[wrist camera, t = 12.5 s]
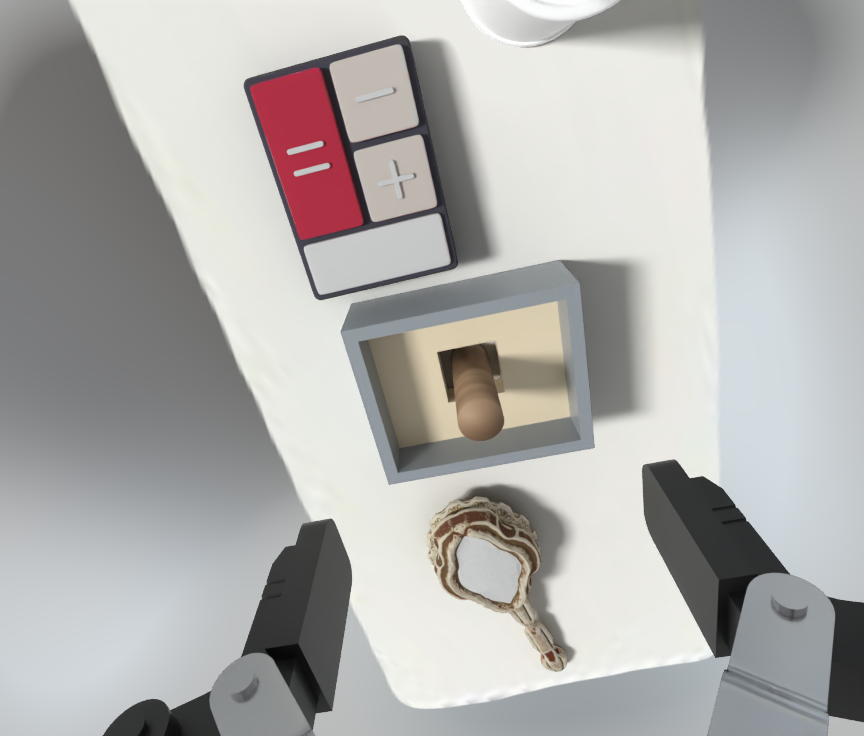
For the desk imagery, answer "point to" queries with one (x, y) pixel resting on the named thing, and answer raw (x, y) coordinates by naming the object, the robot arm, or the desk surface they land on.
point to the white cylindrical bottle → (530, 18)
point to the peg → (476, 394)
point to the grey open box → (517, 388)
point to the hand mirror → (491, 564)
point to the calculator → (355, 167)
